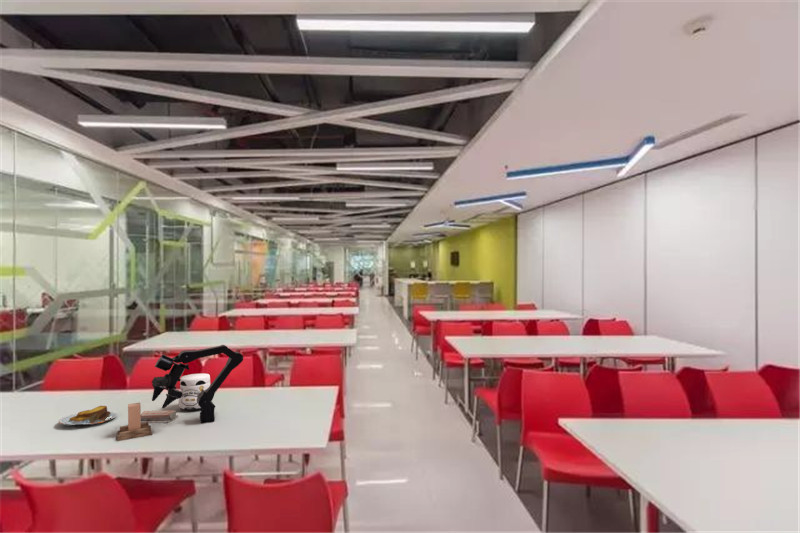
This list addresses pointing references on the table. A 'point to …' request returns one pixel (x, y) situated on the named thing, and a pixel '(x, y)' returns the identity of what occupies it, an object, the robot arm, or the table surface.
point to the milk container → (192, 390)
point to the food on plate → (88, 416)
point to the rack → (134, 432)
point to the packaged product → (158, 416)
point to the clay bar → (134, 416)
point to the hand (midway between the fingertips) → (157, 404)
